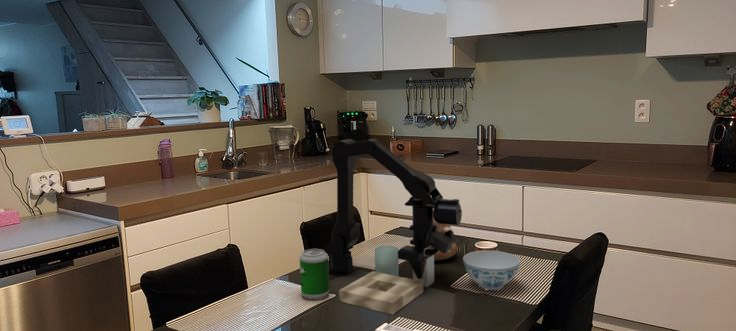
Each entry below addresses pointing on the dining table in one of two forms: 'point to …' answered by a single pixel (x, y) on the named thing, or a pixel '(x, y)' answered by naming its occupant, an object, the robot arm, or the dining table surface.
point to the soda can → (314, 274)
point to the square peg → (427, 271)
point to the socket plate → (381, 292)
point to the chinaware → (491, 268)
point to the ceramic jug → (453, 250)
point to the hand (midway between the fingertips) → (423, 276)
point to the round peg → (387, 260)
